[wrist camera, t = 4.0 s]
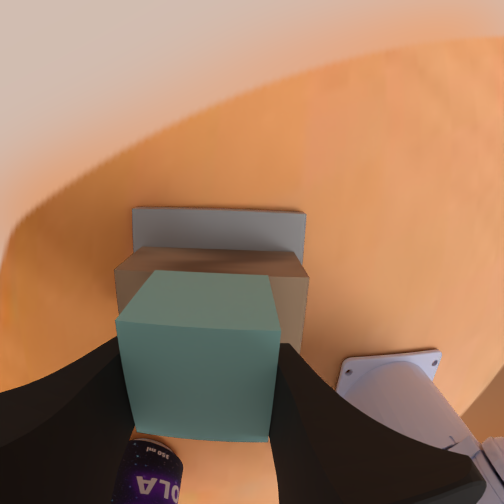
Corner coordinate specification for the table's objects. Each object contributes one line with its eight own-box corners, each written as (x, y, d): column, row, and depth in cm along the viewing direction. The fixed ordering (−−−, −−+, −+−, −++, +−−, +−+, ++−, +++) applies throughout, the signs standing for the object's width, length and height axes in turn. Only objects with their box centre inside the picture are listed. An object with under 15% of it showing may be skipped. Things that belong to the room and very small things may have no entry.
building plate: (289, 357, 19) (291, 364, 18) (146, 350, 19) (143, 357, 18) (303, 212, 17) (306, 214, 16) (136, 206, 16) (132, 208, 16)
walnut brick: (293, 252, 16) (309, 277, 13) (287, 321, 17) (298, 360, 14) (141, 246, 16) (114, 269, 12) (146, 314, 17) (124, 351, 13)
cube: (260, 368, 12) (267, 442, 8) (162, 363, 12) (136, 432, 8) (268, 275, 11) (281, 330, 7) (154, 270, 11) (115, 320, 7)
